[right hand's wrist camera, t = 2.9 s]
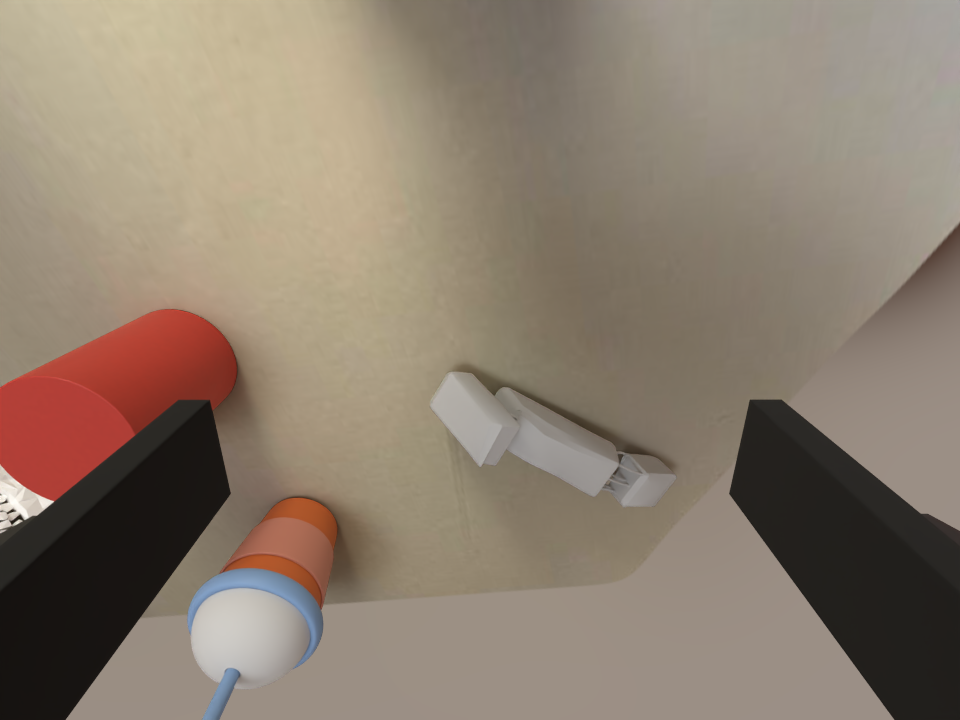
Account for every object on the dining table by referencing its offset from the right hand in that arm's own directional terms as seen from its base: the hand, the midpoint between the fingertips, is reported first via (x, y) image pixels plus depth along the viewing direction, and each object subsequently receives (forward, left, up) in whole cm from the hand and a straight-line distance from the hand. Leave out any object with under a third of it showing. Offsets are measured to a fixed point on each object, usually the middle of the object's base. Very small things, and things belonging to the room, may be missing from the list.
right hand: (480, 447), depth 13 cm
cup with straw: (-4, -28, -25) cm, 38 cm away
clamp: (+11, -10, -25) cm, 29 cm away
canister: (-17, -17, -25) cm, 35 cm away
